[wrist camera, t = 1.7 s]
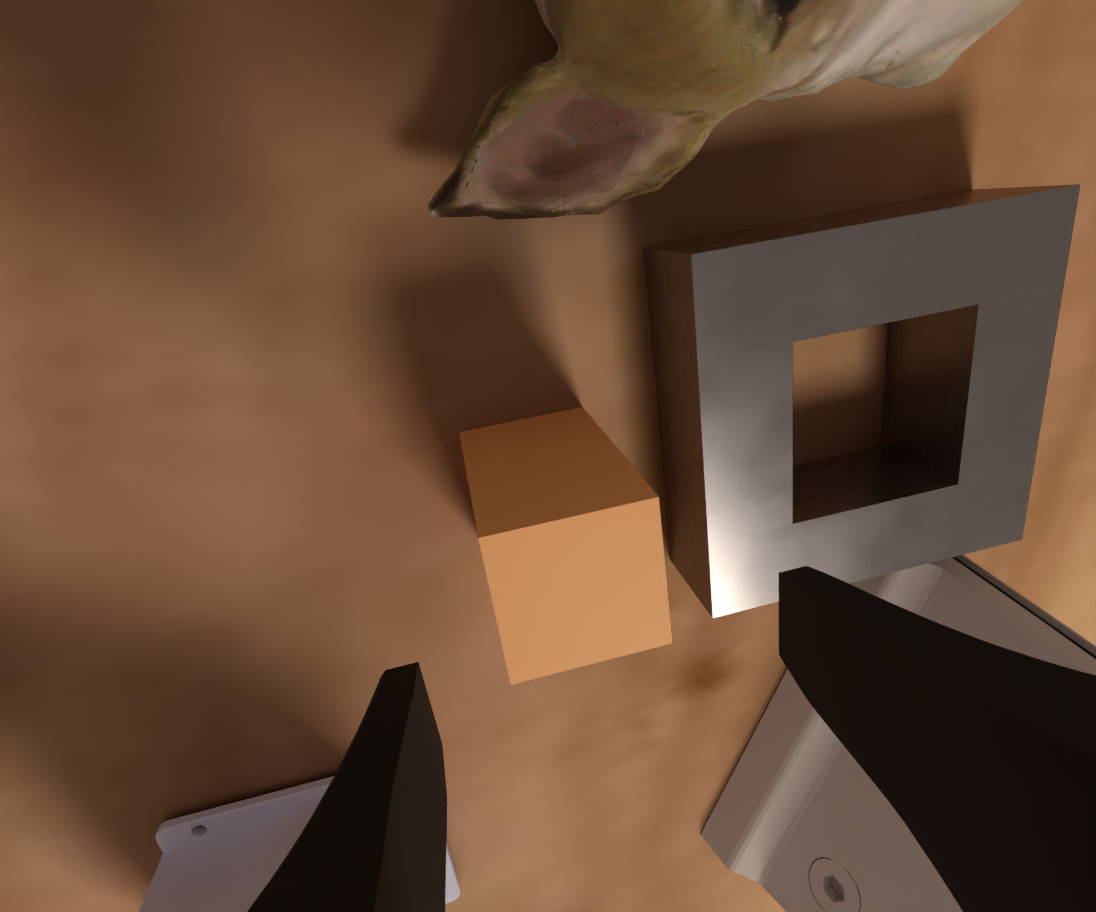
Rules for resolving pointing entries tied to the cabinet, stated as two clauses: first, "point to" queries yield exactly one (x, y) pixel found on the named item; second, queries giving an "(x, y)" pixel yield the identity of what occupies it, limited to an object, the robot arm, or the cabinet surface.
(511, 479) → the orange square-section block
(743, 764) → the banded rounded wedge
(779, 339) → the socket block
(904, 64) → the ceramic sculpture
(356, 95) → the cabinet surface
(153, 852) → the cabinet surface
